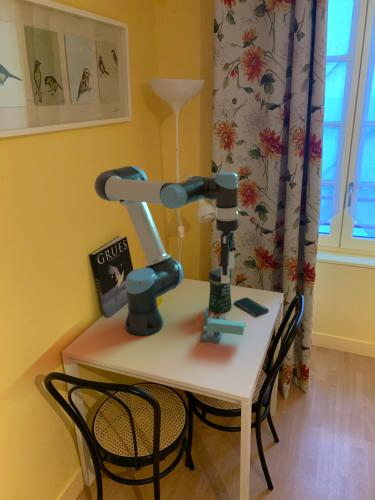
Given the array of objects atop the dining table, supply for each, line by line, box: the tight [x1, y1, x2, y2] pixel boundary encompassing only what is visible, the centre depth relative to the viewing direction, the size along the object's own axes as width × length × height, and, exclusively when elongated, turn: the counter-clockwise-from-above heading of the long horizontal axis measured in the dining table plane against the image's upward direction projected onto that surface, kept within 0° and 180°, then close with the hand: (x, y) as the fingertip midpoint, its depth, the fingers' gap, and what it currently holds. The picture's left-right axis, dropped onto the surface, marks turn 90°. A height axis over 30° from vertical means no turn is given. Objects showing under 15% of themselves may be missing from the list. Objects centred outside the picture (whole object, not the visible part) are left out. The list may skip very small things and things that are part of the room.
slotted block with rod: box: [200, 306, 226, 345], centre depth 157 cm, size 8×16×7 cm, turn 164°
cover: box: [203, 317, 246, 336], centre depth 149 cm, size 14×7×4 cm, turn 74°
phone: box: [233, 297, 270, 318], centre depth 174 cm, size 8×1×15 cm
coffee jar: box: [208, 267, 233, 314], centre depth 171 cm, size 10×8×19 cm
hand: (228, 275), depth 145 cm, fingers open, 13 cm apart
